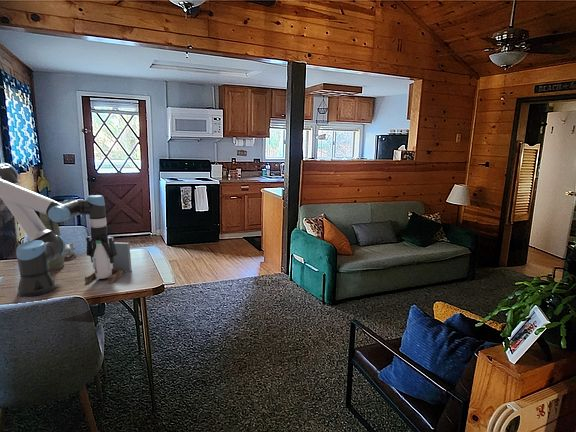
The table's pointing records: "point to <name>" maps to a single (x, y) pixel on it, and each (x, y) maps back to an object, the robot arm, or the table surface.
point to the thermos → (54, 227)
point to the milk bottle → (101, 262)
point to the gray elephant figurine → (69, 250)
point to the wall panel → (122, 256)
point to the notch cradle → (115, 275)
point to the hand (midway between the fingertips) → (103, 268)
